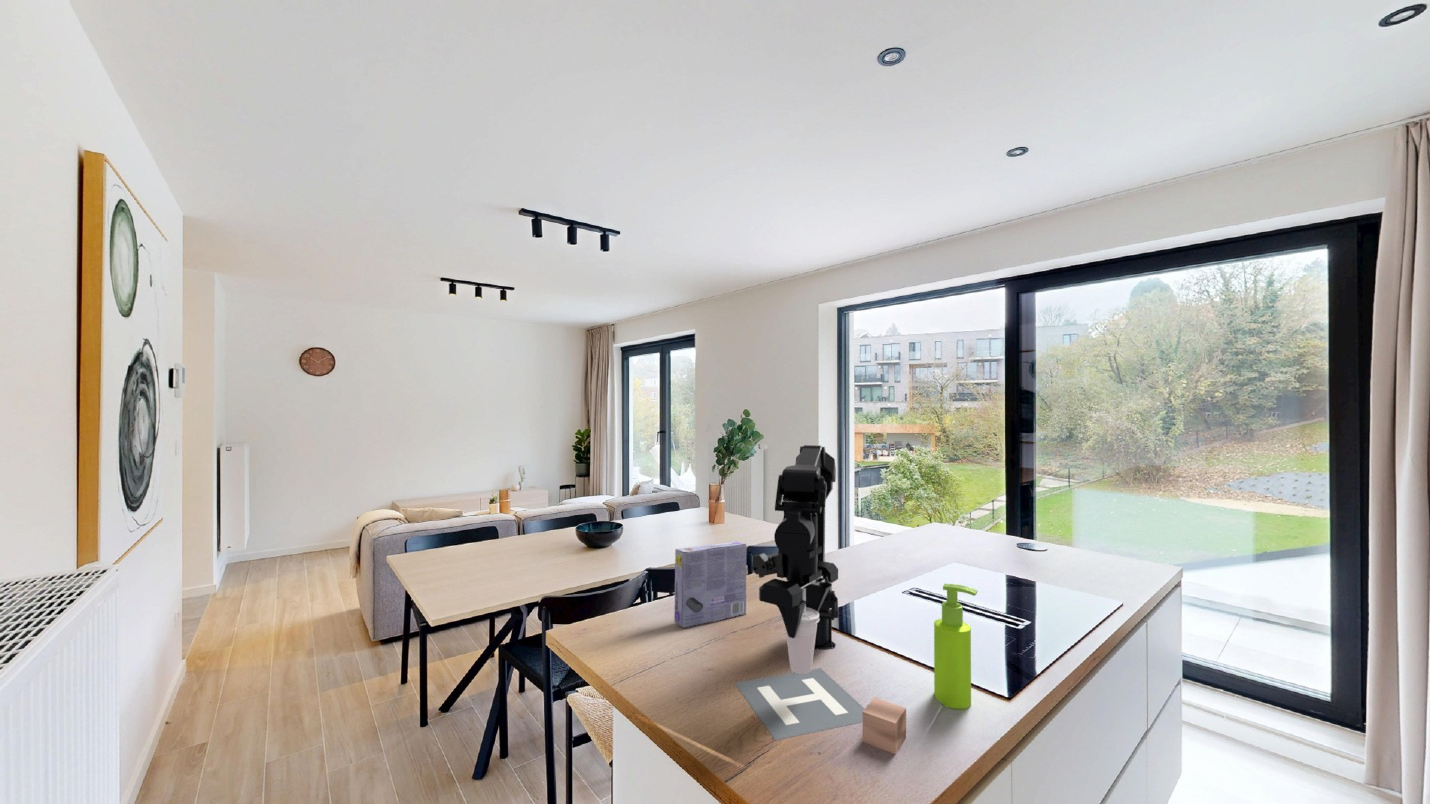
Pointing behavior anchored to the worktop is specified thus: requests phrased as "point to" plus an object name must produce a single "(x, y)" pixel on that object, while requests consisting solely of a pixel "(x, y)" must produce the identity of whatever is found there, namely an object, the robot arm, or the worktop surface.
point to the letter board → (800, 703)
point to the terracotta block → (884, 725)
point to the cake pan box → (710, 583)
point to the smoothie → (803, 641)
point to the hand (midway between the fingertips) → (800, 630)
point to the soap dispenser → (953, 652)
